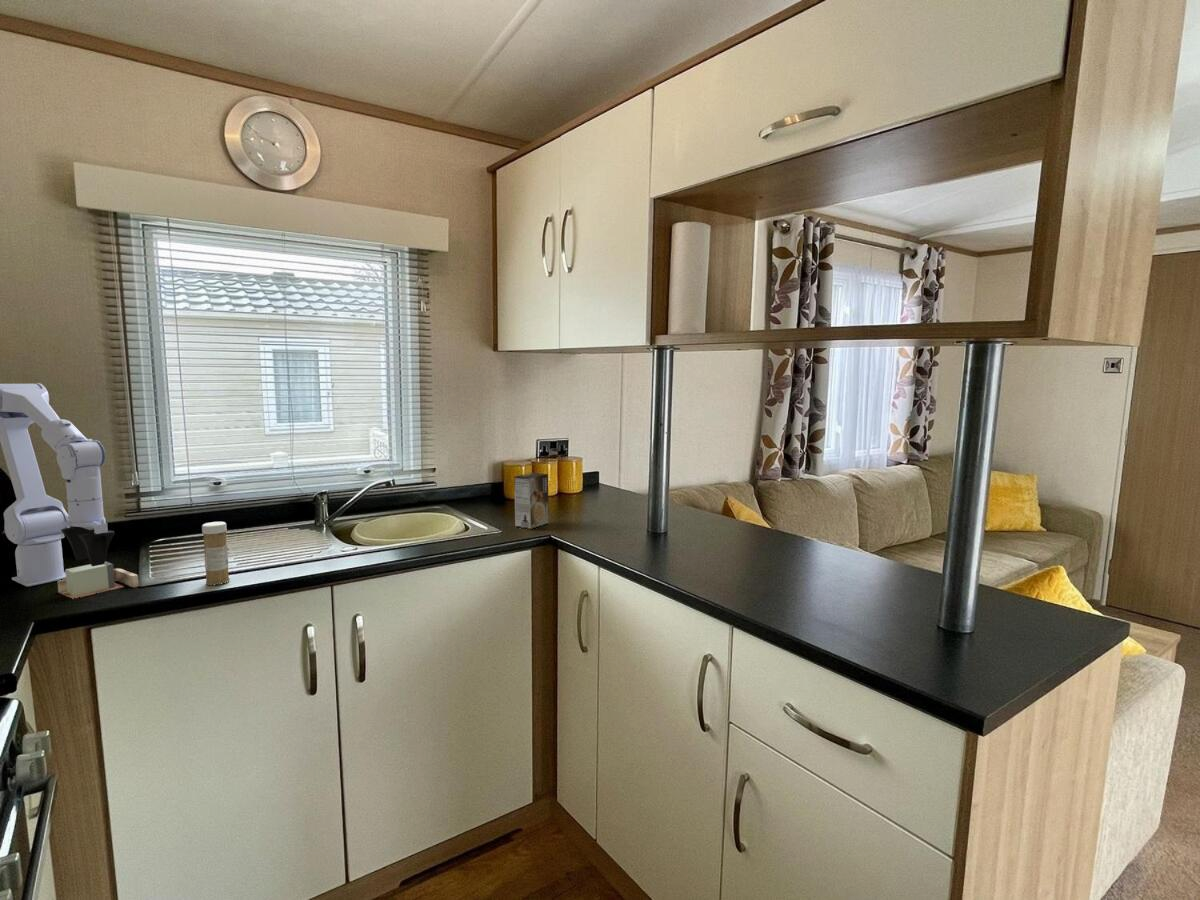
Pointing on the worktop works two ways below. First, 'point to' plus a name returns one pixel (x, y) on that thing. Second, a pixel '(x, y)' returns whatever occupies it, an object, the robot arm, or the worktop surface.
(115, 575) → the corner arena
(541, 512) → the coffee box
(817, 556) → the worktop surface
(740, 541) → the worktop surface
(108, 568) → the sage block
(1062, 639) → the worktop surface
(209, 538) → the sprinkles bottle
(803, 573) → the worktop surface
